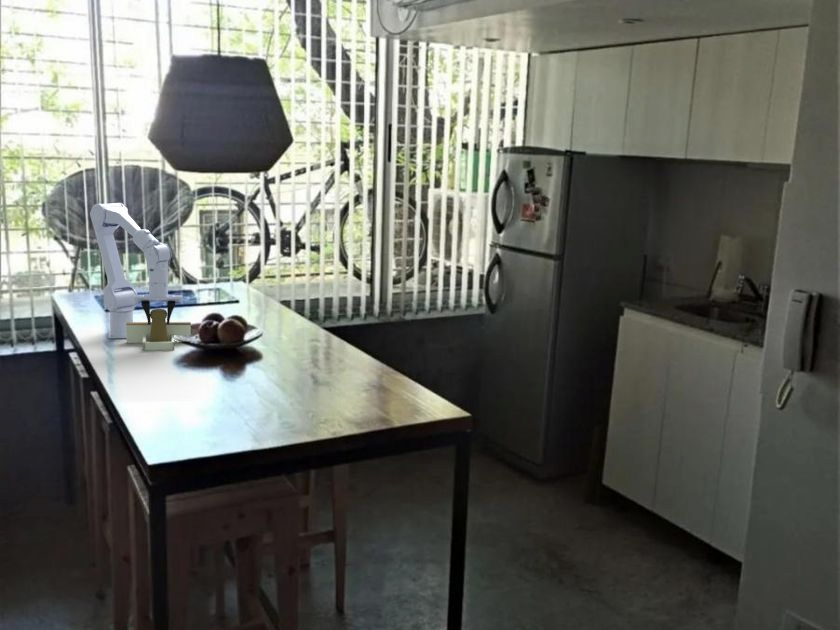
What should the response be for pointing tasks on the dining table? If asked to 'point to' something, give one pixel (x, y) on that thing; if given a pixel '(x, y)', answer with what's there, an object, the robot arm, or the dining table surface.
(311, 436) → the dining table surface
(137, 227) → the robot arm
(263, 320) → the dining table surface
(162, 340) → the cork
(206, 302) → the dining table surface
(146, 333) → the stand
